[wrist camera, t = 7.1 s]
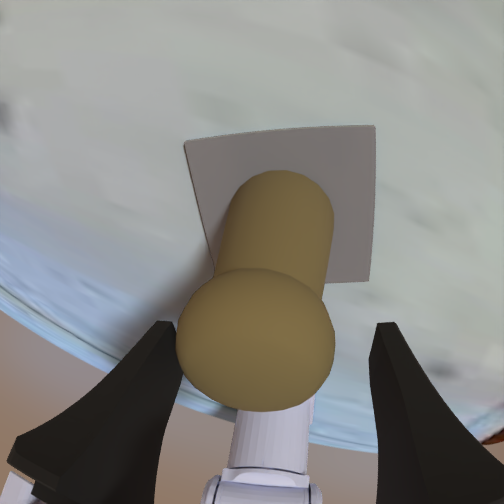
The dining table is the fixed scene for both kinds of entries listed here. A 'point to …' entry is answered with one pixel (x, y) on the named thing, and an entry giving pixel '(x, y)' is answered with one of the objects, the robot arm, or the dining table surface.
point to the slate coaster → (303, 162)
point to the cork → (264, 300)
